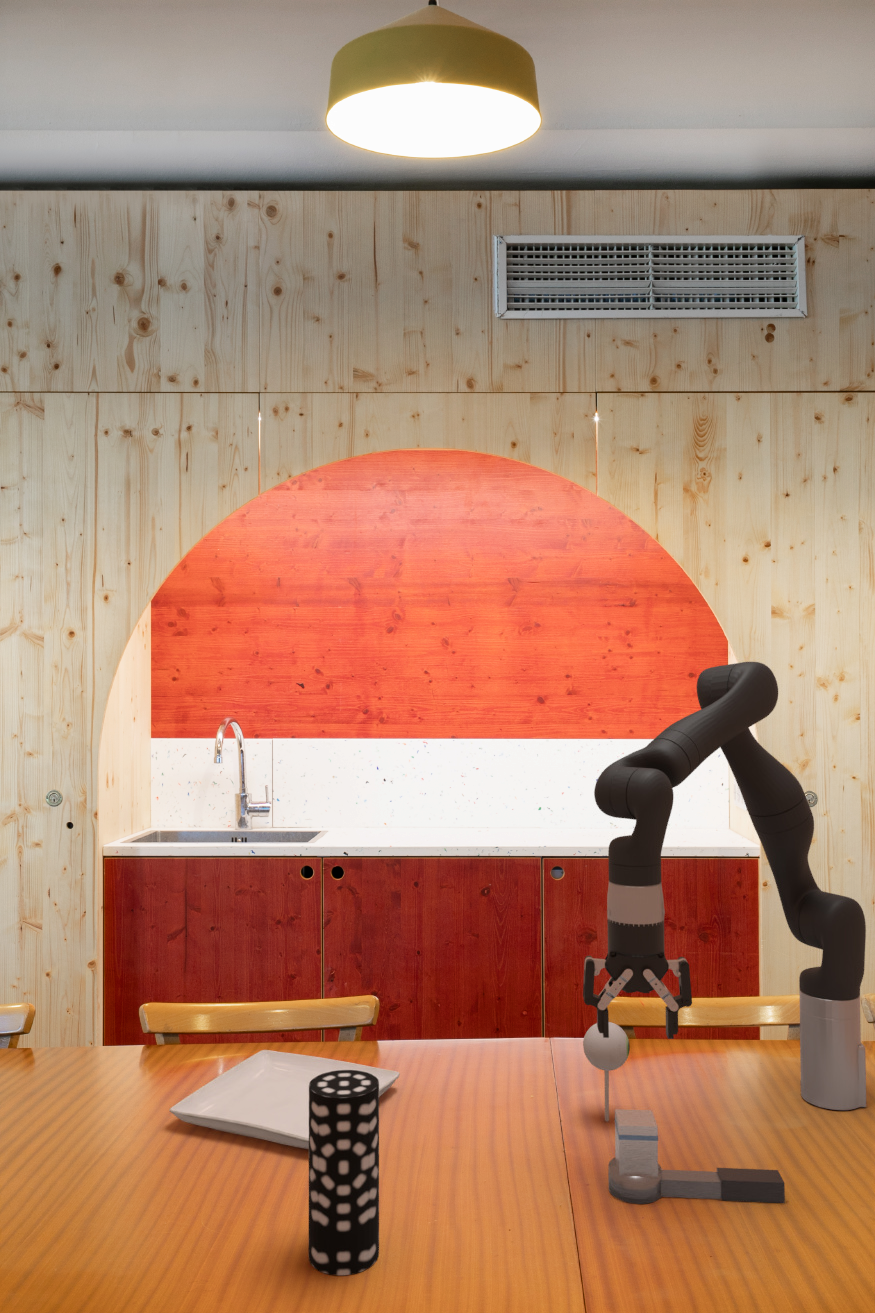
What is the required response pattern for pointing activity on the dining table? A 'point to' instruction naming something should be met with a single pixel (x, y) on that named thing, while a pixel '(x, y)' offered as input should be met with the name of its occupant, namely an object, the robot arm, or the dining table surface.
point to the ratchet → (699, 1185)
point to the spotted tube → (343, 1171)
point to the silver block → (636, 1143)
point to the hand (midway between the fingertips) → (637, 1036)
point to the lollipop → (606, 1053)
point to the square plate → (266, 1096)
